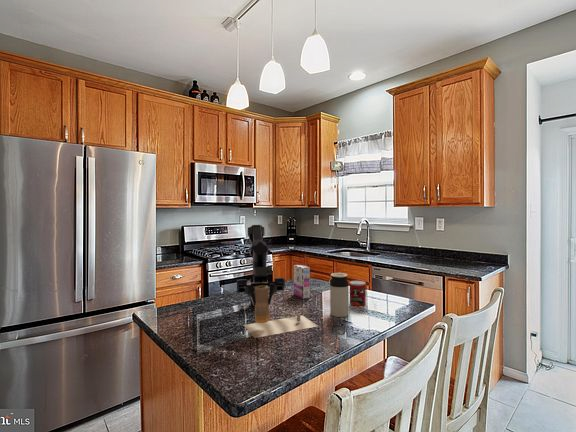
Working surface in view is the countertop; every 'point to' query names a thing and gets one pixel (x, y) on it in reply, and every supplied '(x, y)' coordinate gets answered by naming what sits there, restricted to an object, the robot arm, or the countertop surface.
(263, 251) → the robot arm
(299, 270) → the candy bar box
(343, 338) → the countertop surface
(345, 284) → the travel mug
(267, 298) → the sleeve
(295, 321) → the pin board
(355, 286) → the canned food
